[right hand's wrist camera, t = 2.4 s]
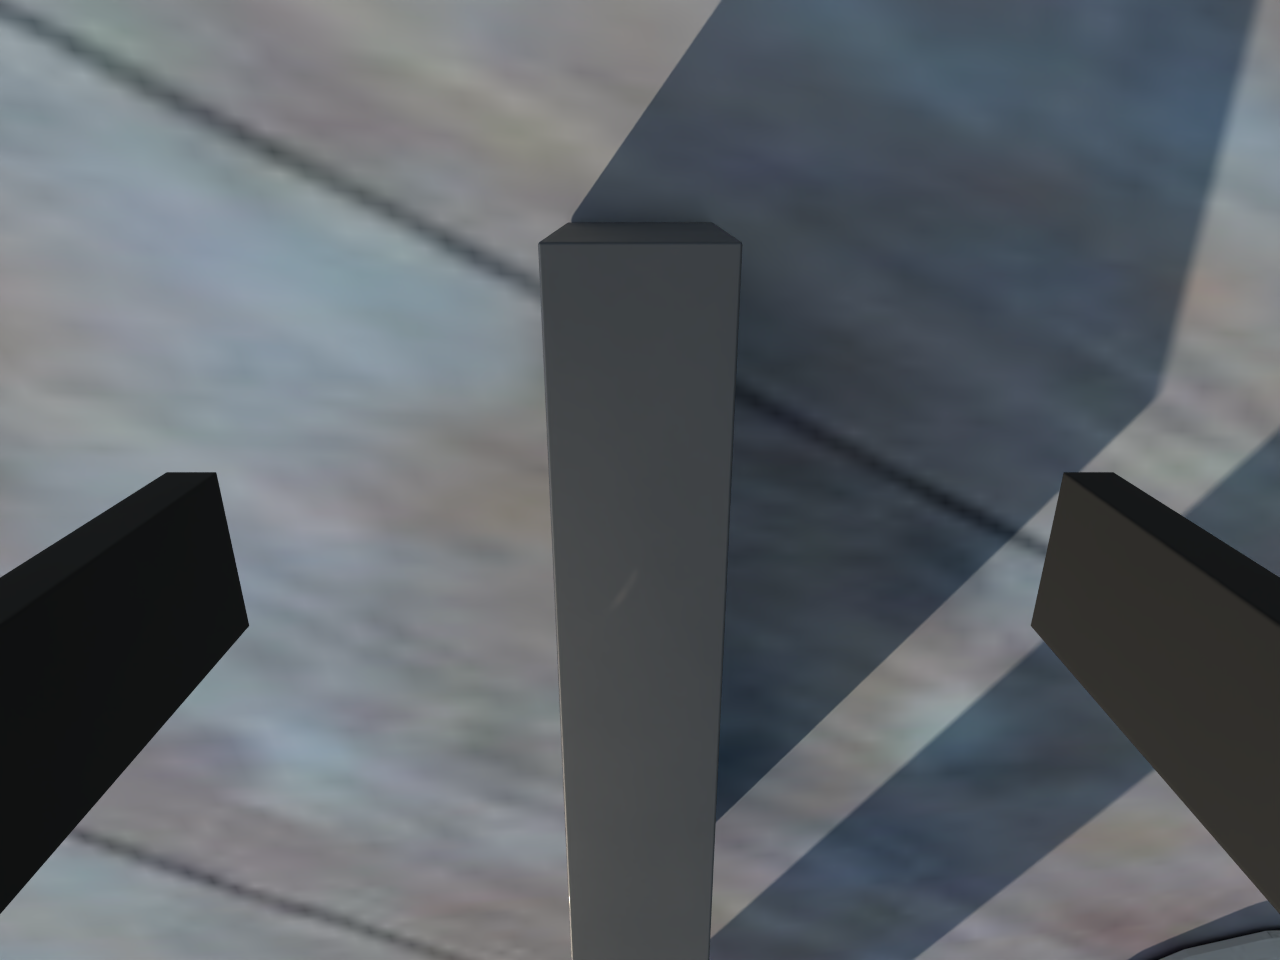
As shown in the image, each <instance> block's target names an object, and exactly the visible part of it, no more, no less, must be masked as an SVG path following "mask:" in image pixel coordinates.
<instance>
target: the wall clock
mask: <svg viewBox="0 0 1280 960" xmlns="http://www.w3.org/2000/svg"><path fill="white" fill-rule="evenodd" d="M1160 960H1280V930H1273V931H1263V932H1259V933H1254V934H1250V935H1245V936H1241V937H1237V938H1232V939H1228V940H1223V941H1219V942H1214V943H1210V944H1206V945H1201V946H1197V947H1192V948H1188V949H1184V950H1182V951H1179V952H1177V953H1174V954H1172V955H1169V956H1167V957H1164V958H1162V959H1160Z"/></svg>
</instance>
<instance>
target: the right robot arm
mask: <svg viewBox="0 0 1280 960" xmlns="http://www.w3.org/2000/svg"><path fill="white" fill-rule="evenodd" d="M248 626H249V623H248V618H247V613H246V609H245V604H244V600H243V595H242V590H241V586H240V581H239V576H238V572H237V567H236V562H235V558H234V553H233V548H232V544H231V539H230V534H229V530H228V525H227V521H226V516H225V511H224V507H223V502H222V497H221V493H220V488H219V483H218V479H217V474H216V472H167V473H165V474H163V475H162V476H160V477H159V478H157V479H156V480H154V481H152V482H151V483H149V484H148V485H146V486H144V487H143V488H141V489H140V490H138V491H137V492H135V493H133V494H132V495H130V496H129V497H127V498H126V499H124V500H122V501H121V502H119V503H118V504H116V505H114V506H113V507H111V508H110V509H108V510H107V511H105V512H103V513H102V514H100V515H99V516H97V517H95V518H94V519H92V520H91V521H89V522H88V523H86V524H84V525H83V526H81V527H80V528H78V529H76V530H75V531H73V532H72V533H70V534H69V535H67V536H65V537H64V538H62V539H61V540H59V541H58V542H56V543H54V544H53V545H51V546H50V547H48V548H46V549H45V550H43V551H42V552H40V553H39V554H37V555H35V556H34V557H32V558H31V559H29V560H27V561H26V562H24V563H23V564H21V565H20V566H18V567H16V568H15V569H13V570H12V571H10V572H8V573H7V574H5V575H4V576H2V577H1V578H0V914H1V912H2V911H3V910H4V909H5V908H6V907H7V906H8V904H9V903H10V902H11V901H12V900H13V899H14V897H15V896H16V895H17V894H18V893H19V892H20V890H21V889H22V888H23V887H24V886H25V885H26V884H27V882H28V881H29V880H30V879H31V878H32V877H33V875H34V874H35V873H36V872H37V871H38V870H39V868H40V867H41V866H42V865H43V864H44V863H45V862H46V860H47V859H48V858H49V857H50V856H51V855H52V853H53V852H54V851H55V850H56V849H57V848H58V846H59V845H60V844H61V843H62V842H63V841H64V840H65V838H66V837H67V836H68V835H69V834H70V833H71V831H72V830H73V829H74V828H75V827H76V826H77V824H78V823H79V822H80V821H81V820H82V819H83V818H84V816H85V815H86V814H87V813H88V812H89V811H90V809H91V808H92V807H93V806H94V805H95V804H96V802H97V801H98V800H99V799H100V798H101V797H102V796H103V794H104V793H105V792H106V791H107V790H108V789H109V787H110V786H111V785H112V784H113V783H114V782H115V780H116V779H117V778H118V777H119V776H120V775H121V774H122V772H123V771H124V770H125V769H126V768H127V767H128V765H129V764H130V763H131V762H132V761H133V760H134V758H135V757H136V756H137V755H138V754H139V753H140V752H141V750H142V749H143V748H144V747H145V746H146V745H147V743H148V742H149V741H150V740H151V739H152V738H153V736H154V735H155V734H156V733H157V732H158V731H159V730H160V728H161V727H162V726H163V725H164V724H165V723H166V721H167V720H168V719H169V718H170V717H171V716H172V714H173V713H174V712H175V711H176V710H177V709H178V708H179V706H180V705H181V704H182V703H183V702H184V701H185V699H186V698H187V697H188V696H189V695H190V694H191V692H192V691H193V690H194V689H195V688H196V687H197V686H198V684H199V683H200V682H201V681H202V680H203V679H204V677H205V676H206V675H207V674H208V673H209V672H210V670H211V669H212V668H213V667H214V666H215V665H216V664H217V662H218V661H219V660H220V659H221V658H222V657H223V655H224V654H225V653H226V652H227V651H228V650H229V648H230V647H231V646H232V645H233V644H234V643H235V642H236V640H237V639H238V638H239V637H240V636H241V635H242V633H243V632H244V631H245V630H246V629H247V628H248ZM1031 626H1032V628H1033V629H1034V630H1035V631H1036V632H1037V633H1038V635H1039V636H1040V637H1041V638H1042V639H1043V640H1044V642H1045V643H1046V644H1047V645H1048V646H1049V647H1050V648H1051V650H1052V651H1053V652H1054V653H1055V654H1056V655H1057V657H1058V658H1059V659H1060V660H1061V661H1062V662H1063V664H1064V665H1065V666H1066V667H1067V668H1068V669H1069V670H1070V672H1071V673H1072V674H1073V675H1074V676H1075V677H1076V679H1077V680H1078V681H1079V682H1080V683H1081V684H1082V686H1083V687H1084V688H1085V689H1086V690H1087V691H1088V692H1089V694H1090V695H1091V696H1092V697H1093V698H1094V699H1095V701H1096V702H1097V703H1098V704H1099V705H1100V706H1101V708H1102V709H1103V710H1104V711H1105V712H1106V713H1107V714H1108V716H1109V717H1110V718H1111V719H1112V720H1113V721H1114V723H1115V724H1116V725H1117V726H1118V727H1119V728H1120V730H1121V731H1122V732H1123V733H1124V734H1125V735H1126V736H1127V738H1128V739H1129V740H1130V741H1131V742H1132V743H1133V745H1134V746H1135V747H1136V748H1137V749H1138V750H1139V752H1140V753H1141V754H1142V755H1143V756H1144V757H1145V758H1146V760H1147V761H1148V762H1149V763H1150V764H1151V765H1152V767H1153V768H1154V769H1155V770H1156V771H1157V772H1158V774H1159V775H1160V776H1161V777H1162V778H1163V779H1164V780H1165V782H1166V783H1167V784H1168V785H1169V786H1170V787H1171V789H1172V790H1173V791H1174V792H1175V793H1176V794H1177V796H1178V797H1179V798H1180V799H1181V800H1182V801H1183V802H1184V804H1185V805H1186V806H1187V807H1188V808H1189V809H1190V811H1191V812H1192V813H1193V814H1194V815H1195V816H1196V818H1197V819H1198V820H1199V821H1200V822H1201V823H1202V824H1203V826H1204V827H1205V828H1206V829H1207V830H1208V831H1209V833H1210V834H1211V835H1212V836H1213V837H1214V838H1215V840H1216V841H1217V842H1218V843H1219V844H1220V845H1221V846H1222V848H1223V849H1224V850H1225V851H1226V852H1227V853H1228V855H1229V856H1230V857H1231V858H1232V859H1233V860H1234V862H1235V863H1236V864H1237V865H1238V866H1239V867H1240V868H1241V870H1242V871H1243V872H1244V873H1245V874H1246V875H1247V877H1248V878H1249V879H1250V880H1251V881H1252V882H1253V884H1254V885H1255V886H1256V887H1257V888H1258V889H1259V890H1260V892H1261V893H1262V894H1263V895H1264V896H1265V897H1266V899H1267V900H1268V901H1269V902H1270V903H1271V904H1272V906H1273V907H1274V908H1275V909H1276V910H1277V911H1278V912H1279V914H1280V578H1279V577H1278V576H1276V575H1275V574H1273V573H1272V572H1270V571H1268V570H1267V569H1265V568H1264V567H1262V566H1260V565H1259V564H1257V563H1256V562H1254V561H1253V560H1251V559H1249V558H1248V557H1246V556H1245V555H1243V554H1241V553H1240V552H1238V551H1237V550H1235V549H1234V548H1232V547H1230V546H1229V545H1227V544H1226V543H1224V542H1222V541H1221V540H1219V539H1218V538H1216V537H1215V536H1213V535H1211V534H1210V533H1208V532H1207V531H1205V530H1204V529H1202V528H1200V527H1199V526H1197V525H1196V524H1194V523H1192V522H1191V521H1189V520H1188V519H1186V518H1185V517H1183V516H1181V515H1180V514H1178V513H1177V512H1175V511H1173V510H1172V509H1170V508H1169V507H1167V506H1166V505H1164V504H1162V503H1161V502H1159V501H1158V500H1156V499H1154V498H1153V497H1151V496H1150V495H1148V494H1147V493H1145V492H1143V491H1142V490H1140V489H1139V488H1137V487H1136V486H1134V485H1132V484H1131V483H1129V482H1128V481H1126V480H1124V479H1123V478H1121V477H1120V476H1118V475H1117V474H1115V473H1113V472H1064V474H1063V479H1062V483H1061V488H1060V493H1059V497H1058V502H1057V507H1056V511H1055V516H1054V520H1053V525H1052V530H1051V534H1050V539H1049V544H1048V548H1047V553H1046V558H1045V562H1044V567H1043V572H1042V576H1041V581H1040V586H1039V590H1038V595H1037V600H1036V604H1035V609H1034V613H1033V618H1032V623H1031Z"/></svg>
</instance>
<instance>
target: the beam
mask: <svg viewBox="0 0 1280 960" xmlns="http://www.w3.org/2000/svg"><path fill="white" fill-rule="evenodd" d="M538 250H539V271H540V293H541V314H542V336H543V357H544V379H545V400H546V422H547V443H548V465H549V486H550V508H551V529H552V551H553V572H554V594H555V615H556V637H557V659H558V680H559V701H560V723H561V745H562V766H563V788H564V809H565V831H566V852H567V874H568V895H569V917H570V938H571V960H709V952H710V930H711V908H712V887H713V865H714V844H715V822H716V800H717V779H718V757H719V736H720V714H721V692H722V671H723V649H724V627H725V606H726V584H727V563H728V541H729V519H730V498H731V476H732V455H733V433H734V411H735V390H736V368H737V347H738V325H739V303H740V282H741V260H742V243H741V242H740V241H738V240H737V239H736V238H734V237H733V236H731V235H730V234H728V233H727V232H725V231H724V230H722V229H721V228H719V227H718V226H717V225H715V224H714V223H567V224H565V225H564V226H562V227H561V228H559V229H558V230H557V231H555V232H554V233H552V234H551V235H549V236H548V237H546V238H545V239H544V240H542V241H541V242H539V244H538Z"/></svg>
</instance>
